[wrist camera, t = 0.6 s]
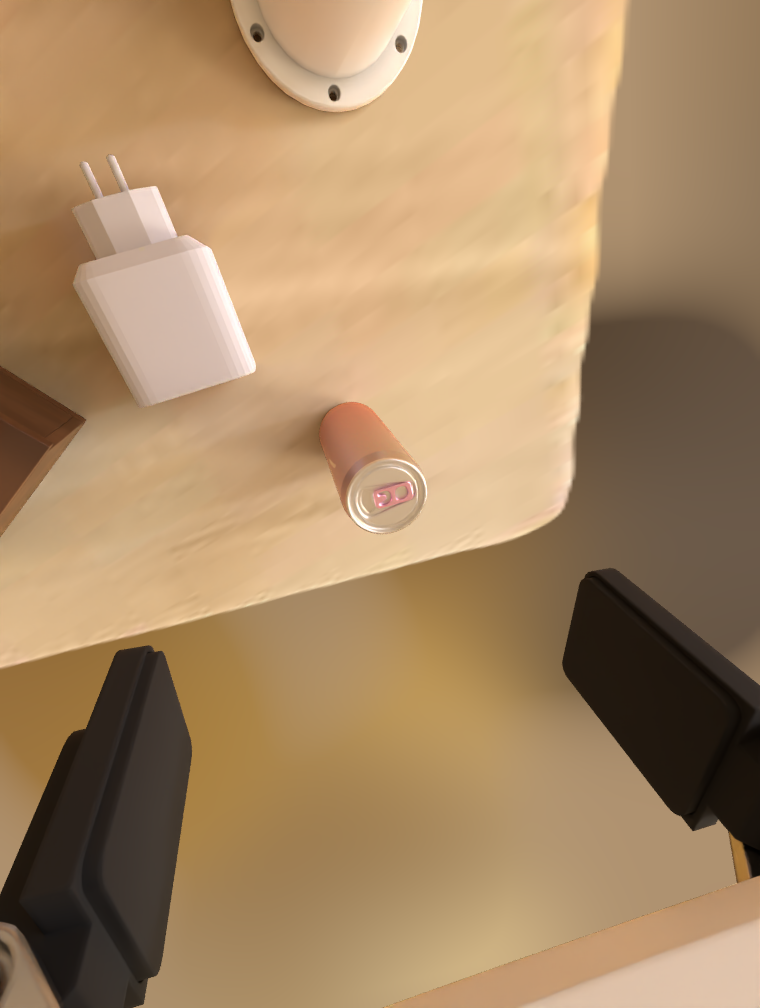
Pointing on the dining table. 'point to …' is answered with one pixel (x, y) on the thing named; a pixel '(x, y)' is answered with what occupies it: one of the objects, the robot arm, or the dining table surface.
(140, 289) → the charger
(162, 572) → the dining table surface
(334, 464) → the beverage can
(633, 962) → the robot arm
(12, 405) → the box
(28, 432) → the lid
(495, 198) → the dining table surface
